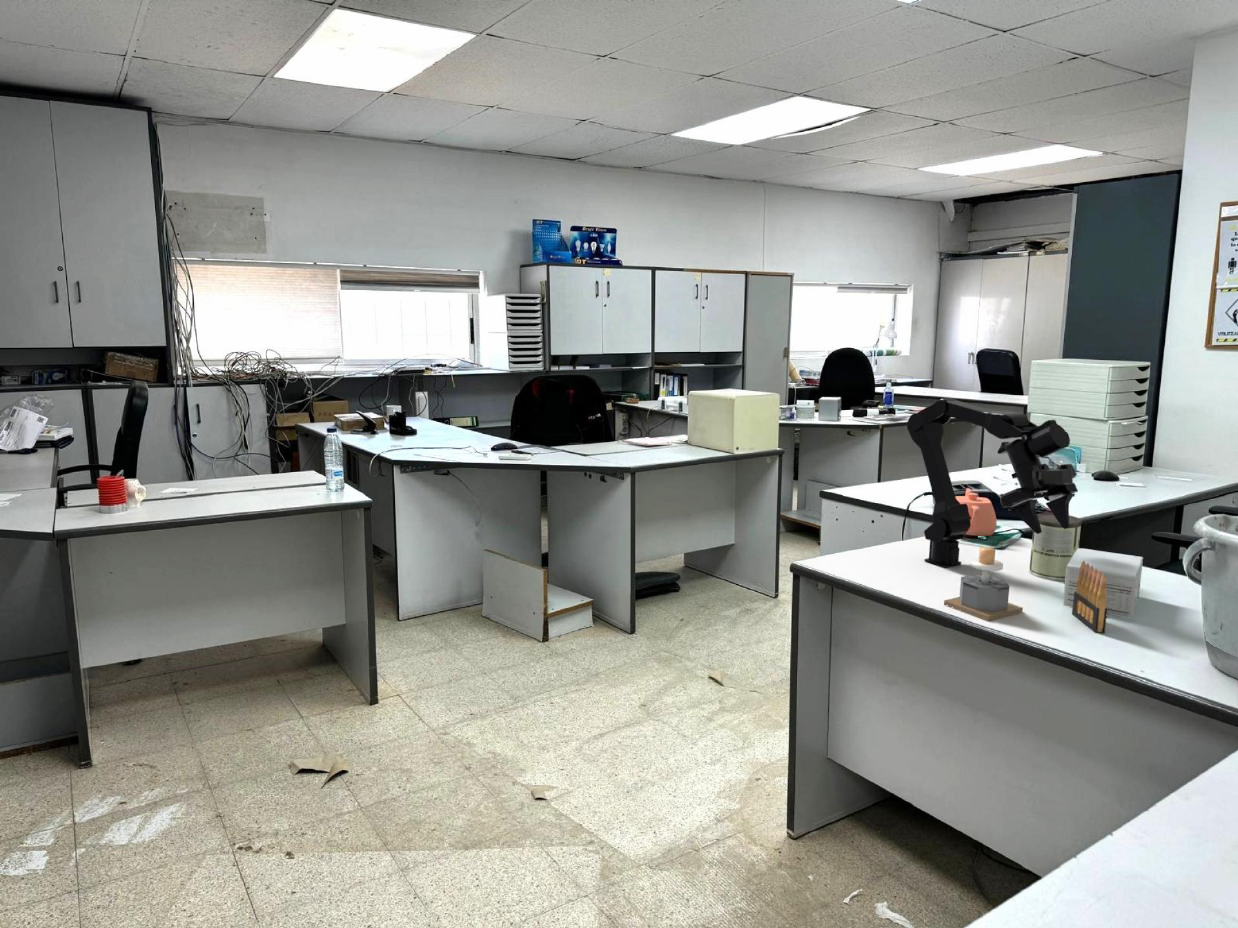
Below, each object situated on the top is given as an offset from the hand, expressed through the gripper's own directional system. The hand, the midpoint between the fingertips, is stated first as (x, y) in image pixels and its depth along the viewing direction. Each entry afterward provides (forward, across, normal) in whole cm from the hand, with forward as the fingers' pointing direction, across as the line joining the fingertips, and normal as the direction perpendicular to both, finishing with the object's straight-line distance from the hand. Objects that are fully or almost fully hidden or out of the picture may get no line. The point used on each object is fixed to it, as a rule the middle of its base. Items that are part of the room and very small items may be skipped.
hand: (1053, 530), depth 180 cm
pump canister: (+12, -19, +9) cm, 24 cm away
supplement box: (+17, +9, +2) cm, 19 cm away
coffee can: (+8, +16, +17) cm, 25 cm away
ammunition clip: (+21, -7, -4) cm, 22 cm away
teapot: (-10, +30, +47) cm, 57 cm away
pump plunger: (+9, -19, +7) cm, 22 cm away
